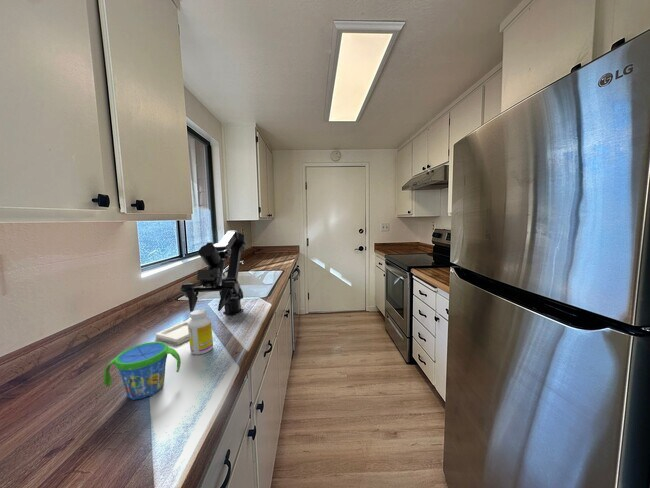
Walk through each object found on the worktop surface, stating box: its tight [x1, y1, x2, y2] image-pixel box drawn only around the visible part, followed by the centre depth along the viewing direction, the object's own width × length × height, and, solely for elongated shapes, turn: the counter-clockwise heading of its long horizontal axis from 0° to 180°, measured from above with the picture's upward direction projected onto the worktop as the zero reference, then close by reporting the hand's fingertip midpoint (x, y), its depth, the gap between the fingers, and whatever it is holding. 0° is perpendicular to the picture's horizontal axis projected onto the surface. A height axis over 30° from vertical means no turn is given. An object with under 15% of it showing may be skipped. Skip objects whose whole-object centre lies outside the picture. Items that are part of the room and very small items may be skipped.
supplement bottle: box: [188, 308, 214, 355], centre depth 80 cm, size 7×7×13 cm
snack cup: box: [103, 341, 181, 401], centre depth 62 cm, size 16×10×10 cm
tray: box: [155, 320, 190, 346], centre depth 93 cm, size 12×12×2 cm
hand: (204, 311), depth 84 cm, fingers open, 9 cm apart
